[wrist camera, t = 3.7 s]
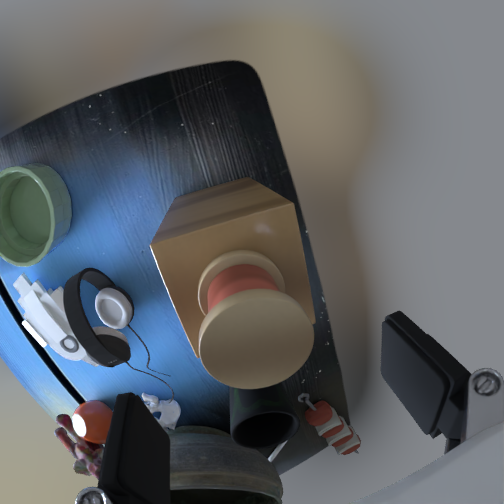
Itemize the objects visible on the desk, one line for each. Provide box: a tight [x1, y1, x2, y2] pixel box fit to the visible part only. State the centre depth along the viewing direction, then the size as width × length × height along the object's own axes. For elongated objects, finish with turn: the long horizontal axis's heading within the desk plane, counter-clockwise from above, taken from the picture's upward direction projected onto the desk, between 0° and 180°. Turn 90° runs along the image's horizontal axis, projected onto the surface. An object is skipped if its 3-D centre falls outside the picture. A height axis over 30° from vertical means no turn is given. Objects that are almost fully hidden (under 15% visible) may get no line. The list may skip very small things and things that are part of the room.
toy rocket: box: [13, 273, 99, 367], centre depth 31 cm, size 16×10×2 cm, turn 32°
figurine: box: [54, 414, 104, 480], centre depth 32 cm, size 8×12×15 cm
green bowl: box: [0, 163, 72, 267], centre depth 25 cm, size 11×11×5 cm
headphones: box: [63, 268, 174, 403], centre depth 30 cm, size 10×4×20 cm
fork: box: [268, 440, 288, 462], centre depth 48 cm, size 3×20×2 cm, turn 159°
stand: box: [150, 177, 316, 358], centre depth 24 cm, size 8×8×16 cm
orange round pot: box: [72, 400, 113, 444], centre depth 35 cm, size 7×7×8 cm
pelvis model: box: [142, 393, 181, 432], centre depth 37 cm, size 8×4×7 cm
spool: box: [198, 250, 314, 389], centre depth 14 cm, size 5×5×6 cm
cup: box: [229, 382, 300, 449], centre depth 33 cm, size 8×8×12 cm
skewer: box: [298, 393, 361, 455], centre depth 45 cm, size 5×5×30 cm
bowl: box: [166, 425, 283, 504], centre depth 37 cm, size 32×26×15 cm
